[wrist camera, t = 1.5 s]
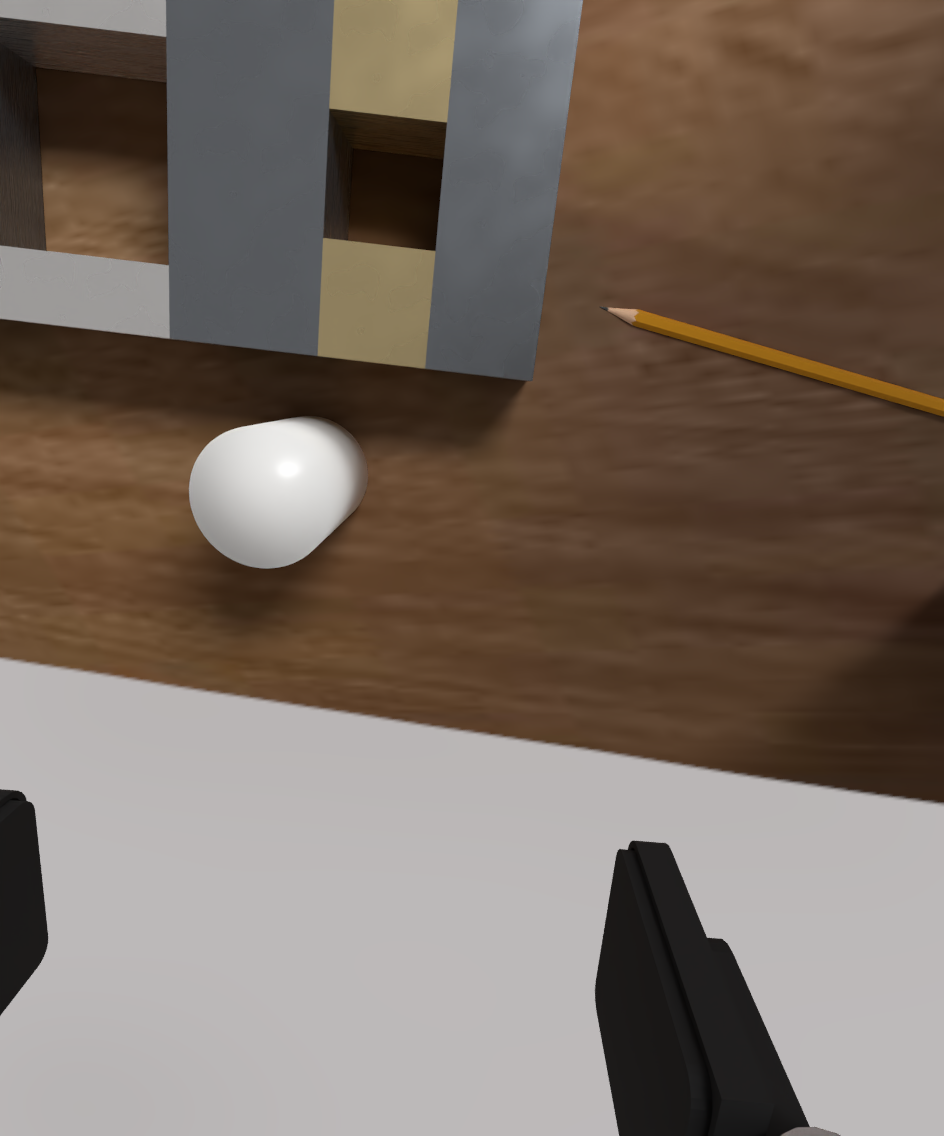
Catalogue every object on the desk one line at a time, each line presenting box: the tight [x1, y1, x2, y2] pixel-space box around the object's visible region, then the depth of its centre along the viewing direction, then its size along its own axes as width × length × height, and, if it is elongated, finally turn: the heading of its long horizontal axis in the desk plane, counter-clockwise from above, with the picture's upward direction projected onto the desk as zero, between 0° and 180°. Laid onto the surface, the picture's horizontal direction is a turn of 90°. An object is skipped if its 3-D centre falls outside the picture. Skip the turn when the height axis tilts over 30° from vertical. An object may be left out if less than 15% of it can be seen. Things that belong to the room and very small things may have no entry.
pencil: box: [600, 307, 944, 417], centre depth 28 cm, size 19×1×1 cm, turn 75°
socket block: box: [0, 0, 583, 381], centre depth 25 cm, size 12×24×4 cm, turn 84°
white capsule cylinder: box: [189, 416, 368, 569], centre depth 26 cm, size 5×5×7 cm
